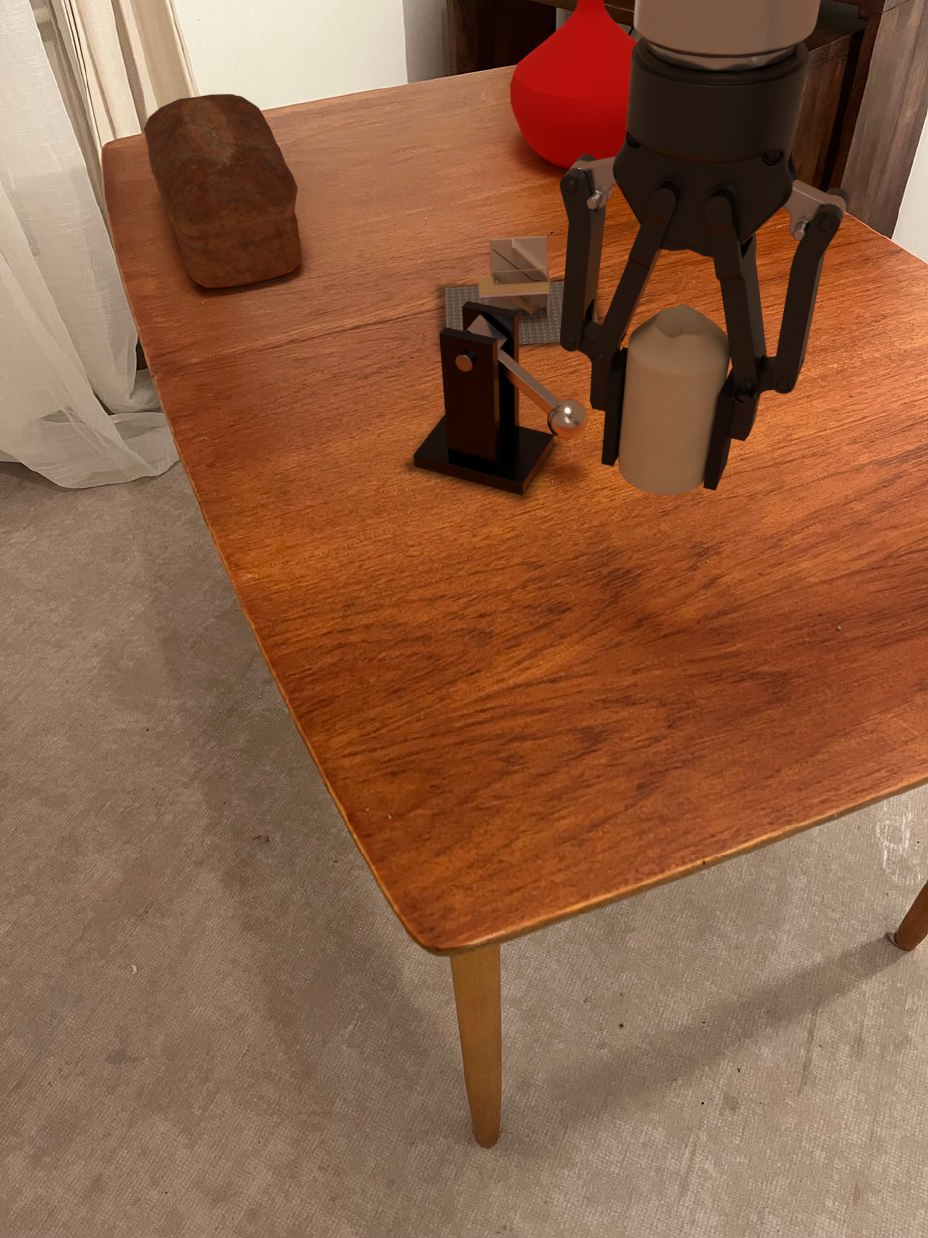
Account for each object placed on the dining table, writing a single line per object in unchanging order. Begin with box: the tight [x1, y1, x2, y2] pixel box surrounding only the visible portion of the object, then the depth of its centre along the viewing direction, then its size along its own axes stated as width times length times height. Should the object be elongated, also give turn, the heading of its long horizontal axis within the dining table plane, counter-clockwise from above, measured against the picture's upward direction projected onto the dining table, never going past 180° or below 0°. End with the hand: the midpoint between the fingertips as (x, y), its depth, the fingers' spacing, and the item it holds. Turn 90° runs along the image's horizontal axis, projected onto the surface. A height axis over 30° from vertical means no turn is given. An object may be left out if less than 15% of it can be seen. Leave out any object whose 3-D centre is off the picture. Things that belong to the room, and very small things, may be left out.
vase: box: [509, 0, 638, 170], centre depth 116 cm, size 18×18×19 cm
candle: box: [617, 304, 731, 496], centre depth 56 cm, size 6×6×10 cm
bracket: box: [412, 301, 555, 495], centre depth 79 cm, size 10×7×13 cm
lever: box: [466, 315, 589, 441], centre depth 76 cm, size 12×3×3 cm
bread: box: [143, 93, 303, 289], centre depth 108 cm, size 14×28×12 cm, turn 19°
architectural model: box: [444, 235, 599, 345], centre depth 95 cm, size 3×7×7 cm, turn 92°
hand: (663, 462), depth 59 cm, fingers closed on candle, 5 cm apart
